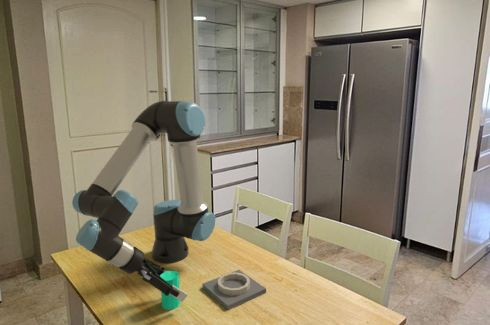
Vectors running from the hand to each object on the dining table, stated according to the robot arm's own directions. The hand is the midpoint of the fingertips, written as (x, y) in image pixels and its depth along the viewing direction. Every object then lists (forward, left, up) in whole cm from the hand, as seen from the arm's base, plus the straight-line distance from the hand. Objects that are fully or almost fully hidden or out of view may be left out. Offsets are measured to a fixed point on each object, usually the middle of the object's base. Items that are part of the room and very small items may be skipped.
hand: (180, 290), depth 117 cm
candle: (-1, -3, -4) cm, 5 cm away
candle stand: (+5, +18, -4) cm, 19 cm away
